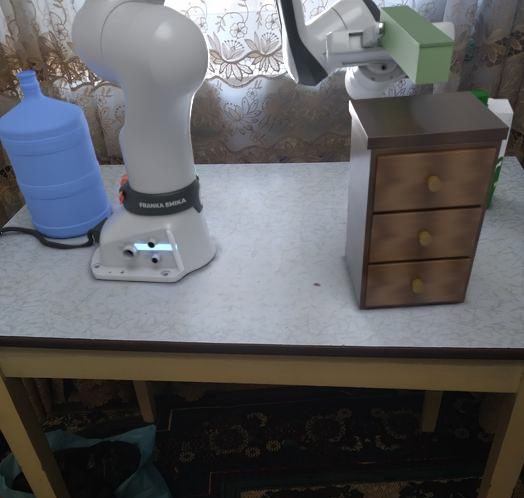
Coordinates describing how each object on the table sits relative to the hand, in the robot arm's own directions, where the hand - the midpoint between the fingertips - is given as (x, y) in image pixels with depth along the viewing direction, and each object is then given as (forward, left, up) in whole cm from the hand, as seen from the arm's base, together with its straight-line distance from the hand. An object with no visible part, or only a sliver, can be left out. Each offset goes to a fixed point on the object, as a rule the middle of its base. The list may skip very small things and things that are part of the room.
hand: (399, 25), depth 77 cm
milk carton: (+19, +8, -33) cm, 39 cm away
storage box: (0, -8, -3) cm, 8 cm away
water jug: (-61, +11, -33) cm, 70 cm away
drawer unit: (0, -18, -33) cm, 37 cm away
